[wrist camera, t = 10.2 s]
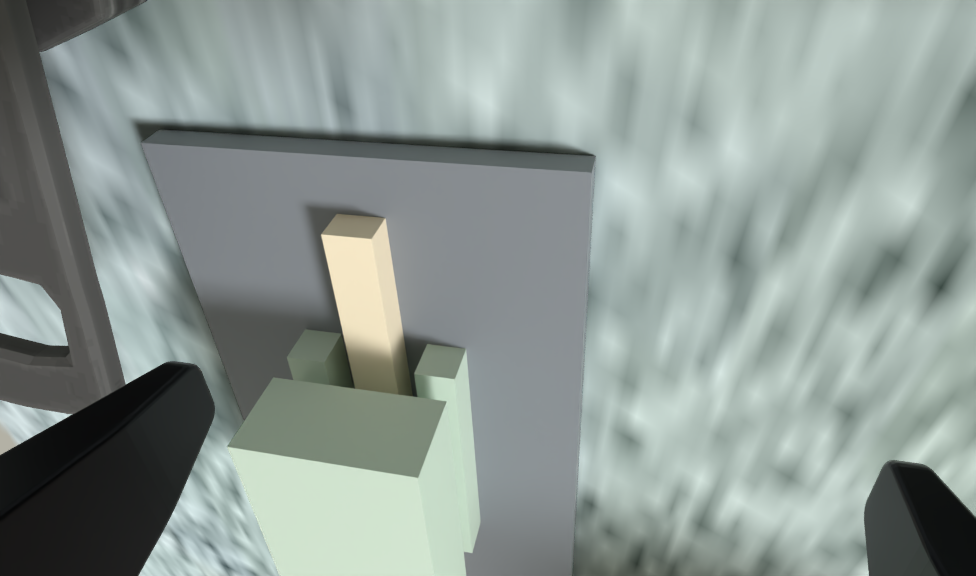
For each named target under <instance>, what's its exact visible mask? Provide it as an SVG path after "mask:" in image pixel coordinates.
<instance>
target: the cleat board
mask: <svg viewBox="0 0 976 576" xmlns="http://www.w3.org/2000/svg"><path fill="white" fill-rule="evenodd" d="M141 145H142V148H143V151H144V153H145V156H146V159H147V161H148V164H149V167H150V169H151V172H152V175H153V177H154V180H155V183H156V185H157V188H158V191H159V194H160V196H161V199H162V202H163V204H164V207H165V210H166V212H167V215H168V218H169V220H170V223H171V226H172V228H173V231H174V234H175V236H176V239H177V242H178V245H179V247H180V250H181V253H182V255H183V258H184V261H185V263H186V266H187V269H188V271H189V274H190V277H191V279H192V282H193V285H194V287H195V290H196V293H197V295H198V298H199V301H200V304H201V306H202V309H203V312H204V314H205V317H206V320H207V322H208V325H209V328H210V330H211V333H212V336H213V338H214V341H215V344H216V346H217V349H218V352H219V355H220V357H221V360H222V363H223V365H224V368H225V371H226V373H227V376H228V379H229V381H230V384H231V387H232V389H233V392H234V395H235V397H236V400H237V403H238V406H239V408H240V411H241V414H242V416H243V419H244V421H245V419H246V418H247V416H248V415H249V413H250V412H251V410H252V409H253V407H254V406H255V404H256V403H257V401H258V400H259V398H260V397H261V395H262V394H263V392H264V391H265V389H266V388H267V386H268V385H269V383H270V382H271V380H272V379H273V377H274V378H282V379H289V380H293V377H292V373H291V370H290V367H289V363H288V360H287V356H288V355H289V353H290V352H291V350H292V348H293V347H294V345H295V344H296V342H297V341H298V339H299V338H300V336H301V335H302V333H303V332H304V330H305V329H307V330H315V331H324V332H332V333H340V334H342V339H343V343H344V347H345V352H346V356H347V361H348V365H349V370H350V374H351V379H352V383H353V388H354V389H361V390H369V391H376V392H383V393H390V394H397V395H405V396H412V397H417V390H416V384H415V377H414V373H415V371H416V368H417V366H418V364H419V362H420V359H421V357H422V355H423V352H424V350H425V348H426V346H427V344H431V345H439V346H447V347H455V348H464V349H466V353H467V365H468V377H469V389H470V401H471V413H472V425H473V437H474V449H475V461H476V473H477V485H478V497H479V509H480V521H481V523H480V526H479V530H478V534H477V537H476V541H475V545H474V549H473V552H472V553H469V552H464V559H465V568H466V576H572V575H573V557H574V539H575V521H576V503H577V484H578V466H579V448H580V430H581V412H582V394H583V376H584V358H585V339H586V321H587V303H588V285H589V267H590V249H591V231H592V213H593V194H594V176H595V158H596V156H585V155H568V154H552V153H536V152H519V151H503V150H487V149H470V148H454V147H438V146H421V145H405V144H389V143H372V142H356V141H339V140H323V139H307V138H290V137H274V136H258V135H241V134H225V133H209V132H192V131H176V130H160V129H159V130H158V131H157V132H155V133H154V134H152V135H151V136H150V137H148V138H147V139H145V140H144V141H143V142H141Z"/></svg>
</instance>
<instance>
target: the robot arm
mask: <svg viewBox="0 0 976 576" xmlns="http://www.w3.org/2000/svg"><path fill="white" fill-rule="evenodd" d="M214 413H215V406H214V401H213V399H212V396H211V394H210V391H209V389H208V386H207V384H206V381H205V379H204V376H203V374H202V371H201V370H200V368H199V367H198V366H197V365H195V364H191V363H183V362H176V361H170V362H166V363H164V364H162V365H160V366H158V367H157V368H155V369H153V370H151V371H149V372H148V373H146V374H144V375H142V376H140V377H139V378H137V379H135V380H133V381H132V382H130V383H128V384H126V385H124V386H123V387H121V388H119V389H117V390H115V391H114V392H112V393H110V394H108V395H107V396H105V397H103V398H101V399H99V400H98V401H96V402H94V403H92V404H91V405H89V406H87V407H85V408H83V409H82V410H80V411H78V412H76V413H74V414H73V415H71V416H69V417H67V418H66V419H64V420H62V421H60V422H58V423H57V424H55V425H53V426H51V427H49V428H48V429H46V430H44V431H42V432H41V433H39V434H37V435H35V436H33V437H32V438H30V439H28V440H26V441H24V442H23V443H21V444H19V445H17V446H16V447H14V448H12V449H10V450H9V451H7V452H5V453H3V454H1V455H0V576H138V575H139V574H140V572H141V570H142V568H143V566H144V565H145V563H146V561H147V559H148V557H149V556H150V554H151V552H152V550H153V548H154V547H155V545H156V543H157V541H158V539H159V538H160V536H161V534H162V532H163V530H164V528H165V527H166V525H167V523H168V521H169V519H170V517H171V515H172V513H173V511H174V509H175V507H176V504H177V502H178V500H179V498H180V496H181V493H182V491H183V489H184V486H185V484H186V482H187V479H188V477H189V475H190V472H191V470H192V468H193V465H194V463H195V461H196V459H197V456H198V454H199V452H200V449H201V447H202V445H203V442H204V440H205V438H206V435H207V433H208V431H209V428H210V426H211V424H212V421H213V418H214ZM864 525H865V536H866V547H867V558H868V569H869V576H976V517H975V516H974V515H973V514H972V512H971V511H970V510H969V509H968V508H967V507H966V506H965V505H964V504H963V503H962V502H961V500H960V499H959V498H958V497H957V496H956V495H955V494H954V493H953V492H952V491H951V490H950V488H949V487H948V486H947V485H946V484H945V483H944V482H943V481H942V480H941V479H940V478H939V476H938V475H937V474H936V473H935V472H934V471H933V470H932V469H930V468H929V467H928V466H926V465H923V464H919V463H912V462H904V461H897V460H890V461H888V462H886V463H885V464H884V466H883V467H882V469H881V471H880V473H879V476H878V478H877V480H876V482H875V484H874V486H873V488H872V491H871V493H870V495H869V497H868V499H867V502H866V505H865V511H864Z"/></svg>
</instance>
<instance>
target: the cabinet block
mask: <svg viewBox="0 0 976 576" xmlns="http://www.w3.org/2000/svg"><path fill="white" fill-rule="evenodd" d="M287 360H288V363H289V367H290V370H291V373H292V377H293V380H289V379H282V378H274V377H273V379H272V380H271V382H270V383H269V385H268V386H267V388H266V389H265V391H264V392H263V394H262V395H261V397H260V398H259V400H258V401H257V403H256V404H255V406H254V407H253V409H252V410H251V412H250V413H249V415H248V416H247V418H246V419H245V421H244V422H243V424H242V425H241V427H240V428H239V430H238V431H237V433H236V434H235V436H234V437H233V439H232V440H231V442H230V443H229V445H228V446H227V448H228V450H229V453H230V455H231V457H232V460H233V462H234V465H235V467H236V470H237V472H238V475H239V477H240V480H241V482H242V484H243V487H244V489H245V492H246V494H247V497H248V499H249V502H250V504H251V507H252V509H253V511H254V514H255V516H256V519H257V521H258V524H259V526H260V529H261V531H262V533H263V536H264V538H265V541H266V543H267V546H268V548H269V551H270V553H271V556H272V558H273V560H274V563H275V565H276V568H277V570H278V573H279V575H280V576H466V568H465V559H464V552H469V553H472V552H473V549H474V545H475V541H476V537H477V534H478V530H479V526H480V523H481V521H480V509H479V497H478V485H477V473H476V461H475V449H474V437H473V425H472V413H471V401H470V389H469V377H468V365H467V353H466V349H464V348H455V347H447V346H439V345H431V344H427V346H426V348H425V350H424V352H423V355H422V357H421V359H420V362H419V364H418V366H417V368H416V371H415V373H414V377H415V384H416V390H417V397H412V396H405V395H397V394H390V393H383V392H376V391H369V390H361V389H354V388H353V383H352V379H351V374H350V370H349V365H348V361H347V356H346V352H345V347H344V343H343V339H342V334H340V333H332V332H324V331H315V330H307V329H305V330H304V332H303V333H302V335H301V336H300V338H299V339H298V341H297V342H296V344H295V345H294V347H293V348H292V350H291V352H290V353H289V355H288V356H287Z"/></svg>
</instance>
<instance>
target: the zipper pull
mask: <svg viewBox="0 0 976 576" xmlns="http://www.w3.org/2000/svg"><path fill="white" fill-rule="evenodd" d="M146 1H147V0H0V274H1V275H5V276H9V277H13V278H17V279H21V280H25V281H28V282H32V283H36V284H39V285H41V286H42V287H43V288H44V290H45V291H46V292H47V293H48V295H49V296H50V297H51V298H52V300H53V301H54V302H55V303H56V305H57V306H58V307H59V308H60V310H61V313H62V318H63V323H64V327H65V332H66V336H67V341H68V345H69V346H50V345H45V344H41V343H37V342H33V341H29V340H25V339H21V338H17V337H14V336H10V335H6V334H2V333H0V400H3V401H7V402H10V403H14V404H18V405H22V406H26V407H32V408H38V409H43V410H49V411H55V412H61V413H66V414H74V413H76V412H78V411H80V410H82V409H83V408H85V407H87V406H89V405H91V404H92V403H94V402H96V401H98V400H99V399H101V398H103V397H105V396H107V395H108V394H110V393H112V392H114V391H115V390H117V389H119V388H121V387H123V386H124V385H126V384H125V380H124V376H123V372H122V368H121V364H120V360H119V356H118V352H117V348H116V344H115V341H114V337H113V333H112V329H111V325H110V321H109V317H108V313H107V309H106V305H105V301H104V298H103V294H102V291H101V288H100V284H99V281H98V278H97V274H96V270H95V266H94V263H93V259H92V255H91V251H90V247H89V243H88V239H87V235H86V232H85V228H84V224H83V220H82V216H81V212H80V208H79V204H78V201H77V197H76V193H75V189H74V185H73V181H72V177H71V173H70V170H69V166H68V162H67V158H66V154H65V150H64V146H63V142H62V139H61V135H60V131H59V127H58V123H57V119H56V115H55V111H54V108H53V104H52V100H51V96H50V92H49V88H48V84H47V80H46V76H45V73H44V69H43V65H42V61H41V57H40V53H39V52H42V51H46V50H48V49H50V48H52V47H55V46H57V45H59V44H61V43H63V42H65V41H68V40H70V39H72V38H74V37H76V36H78V35H81V34H83V33H85V32H87V31H89V30H91V29H93V28H95V27H97V26H99V25H101V24H103V23H105V22H107V21H109V20H111V19H113V18H115V17H117V16H119V15H121V14H123V13H125V12H127V11H128V10H130V9H132V8H134V7H136V6H138V5H140V4H142V3H144V2H146Z"/></svg>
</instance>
